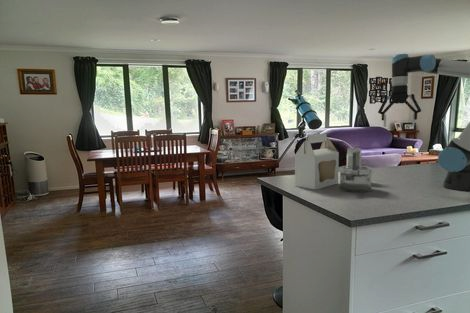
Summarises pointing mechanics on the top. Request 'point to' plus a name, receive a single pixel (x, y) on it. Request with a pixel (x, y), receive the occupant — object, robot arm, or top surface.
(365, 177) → the pot
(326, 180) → the gable box
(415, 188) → the top surface
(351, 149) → the milk carton
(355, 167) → the lid
